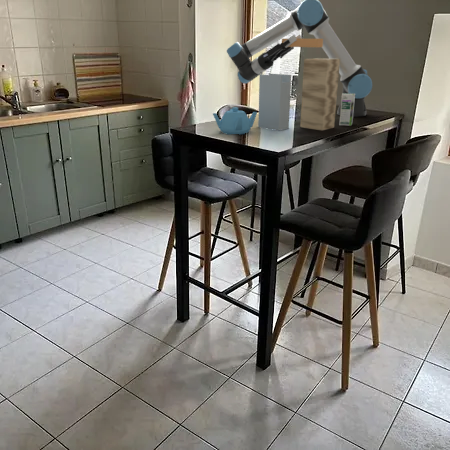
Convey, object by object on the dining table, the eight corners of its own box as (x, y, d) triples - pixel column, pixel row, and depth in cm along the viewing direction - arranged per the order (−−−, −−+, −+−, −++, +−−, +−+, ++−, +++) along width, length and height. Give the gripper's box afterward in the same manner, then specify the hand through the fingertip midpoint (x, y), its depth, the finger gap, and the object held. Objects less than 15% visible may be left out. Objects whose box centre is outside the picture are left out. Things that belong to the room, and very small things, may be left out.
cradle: (268, 125, 220) (270, 73, 211) (288, 128, 213) (291, 74, 204) (258, 127, 215) (259, 74, 206) (278, 130, 208) (280, 76, 199)
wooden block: (312, 124, 222) (317, 58, 211) (334, 127, 214) (340, 58, 203) (300, 127, 215) (304, 58, 204) (322, 130, 208) (327, 59, 196)
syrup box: (338, 125, 219) (341, 93, 213) (340, 123, 224) (343, 92, 219) (351, 126, 217) (354, 94, 212) (352, 124, 222) (355, 92, 217)
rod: (286, 46, 216) (286, 38, 215) (322, 47, 203) (323, 38, 202) (281, 46, 214) (281, 38, 213) (318, 47, 201) (318, 38, 200)
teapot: (259, 131, 207) (259, 106, 203) (240, 137, 195) (241, 111, 191) (230, 127, 215) (230, 104, 211) (211, 133, 203) (211, 108, 199)
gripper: (275, 69, 232) (311, 44, 214) (254, 71, 220) (290, 45, 203) (270, 55, 231) (305, 29, 214) (248, 56, 220) (284, 29, 203)
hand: (298, 37), depth 209 cm, fingers closed on rod, 3 cm apart
